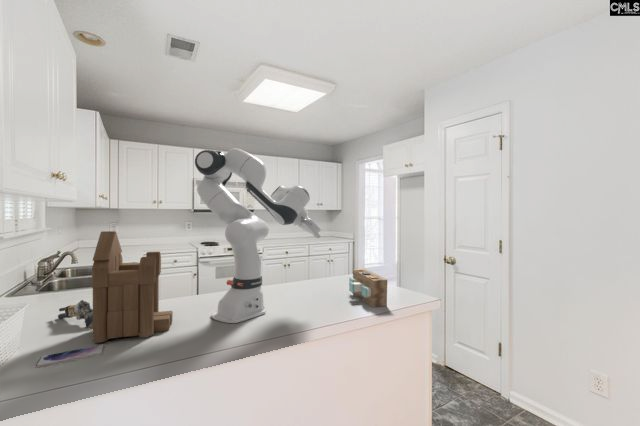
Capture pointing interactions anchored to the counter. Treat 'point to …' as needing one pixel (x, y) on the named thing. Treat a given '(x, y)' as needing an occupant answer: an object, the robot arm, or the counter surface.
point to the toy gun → (79, 312)
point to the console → (372, 287)
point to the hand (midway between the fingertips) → (318, 237)
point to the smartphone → (69, 356)
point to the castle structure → (125, 293)
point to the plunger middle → (355, 286)
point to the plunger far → (353, 280)
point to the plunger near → (366, 291)
